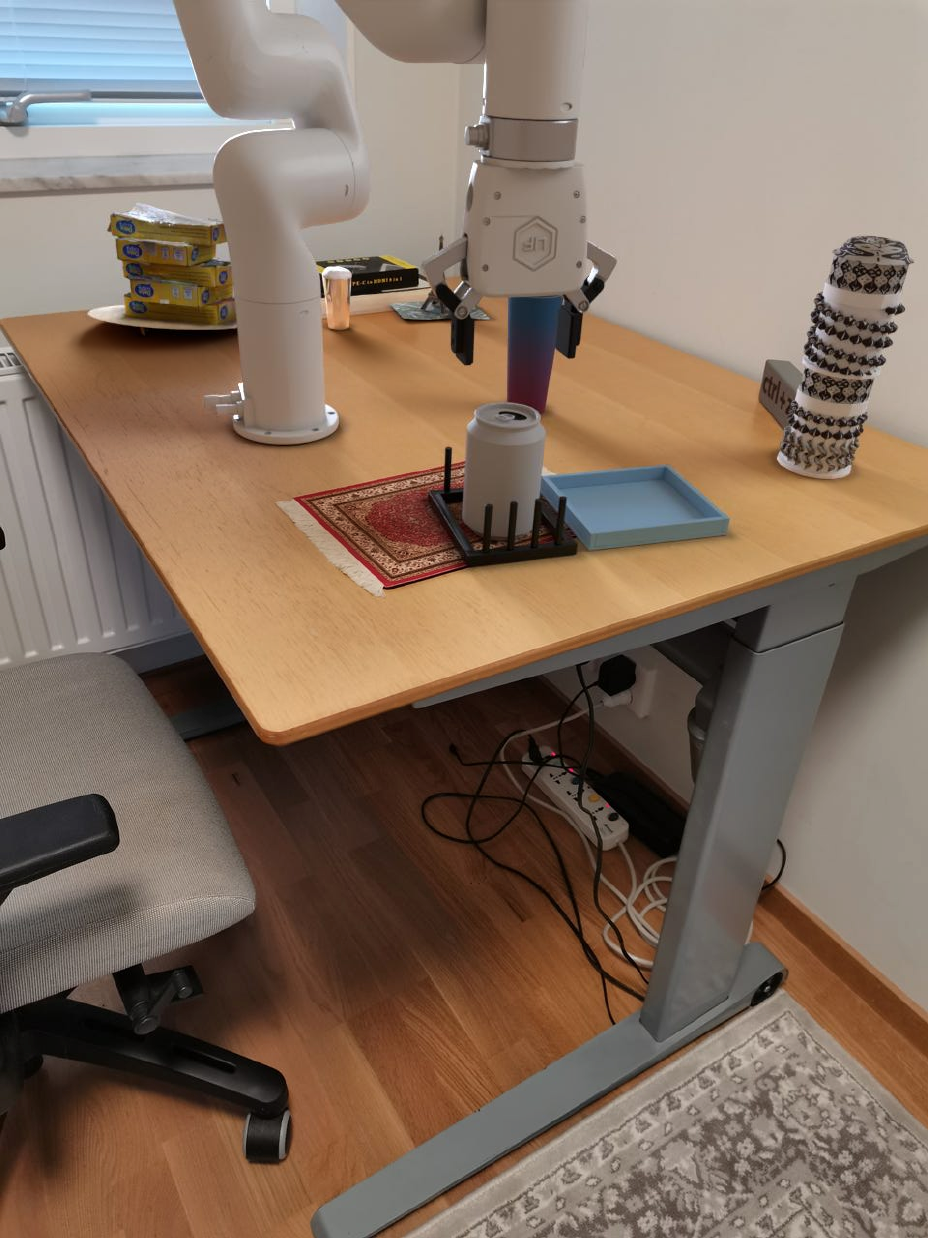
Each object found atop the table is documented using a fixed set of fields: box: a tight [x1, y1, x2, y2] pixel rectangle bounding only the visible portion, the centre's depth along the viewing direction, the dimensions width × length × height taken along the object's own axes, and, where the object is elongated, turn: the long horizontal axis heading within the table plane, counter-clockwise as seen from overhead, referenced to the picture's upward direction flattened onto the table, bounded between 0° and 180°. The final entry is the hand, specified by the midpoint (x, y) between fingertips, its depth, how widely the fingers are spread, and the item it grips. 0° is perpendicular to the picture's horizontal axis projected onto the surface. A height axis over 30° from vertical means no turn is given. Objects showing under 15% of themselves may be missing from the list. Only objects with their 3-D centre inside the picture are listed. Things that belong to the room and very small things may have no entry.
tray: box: [540, 463, 731, 552], centre depth 94 cm, size 15×13×2 cm
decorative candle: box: [776, 235, 915, 480], centre depth 100 cm, size 9×9×25 cm
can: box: [461, 401, 547, 542], centre depth 87 cm, size 8×8×12 cm
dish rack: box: [427, 446, 579, 568], centre depth 89 cm, size 11×14×6 cm
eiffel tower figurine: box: [389, 228, 491, 321], centre depth 150 cm, size 15×10×13 cm
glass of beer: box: [321, 261, 357, 331], centre depth 141 cm, size 4×5×10 cm
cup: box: [506, 295, 564, 415], centre depth 114 cm, size 7×7×15 cm
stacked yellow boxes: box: [87, 202, 237, 336], centre depth 135 cm, size 25×25×17 cm
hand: (515, 357), depth 81 cm, fingers open, 9 cm apart
